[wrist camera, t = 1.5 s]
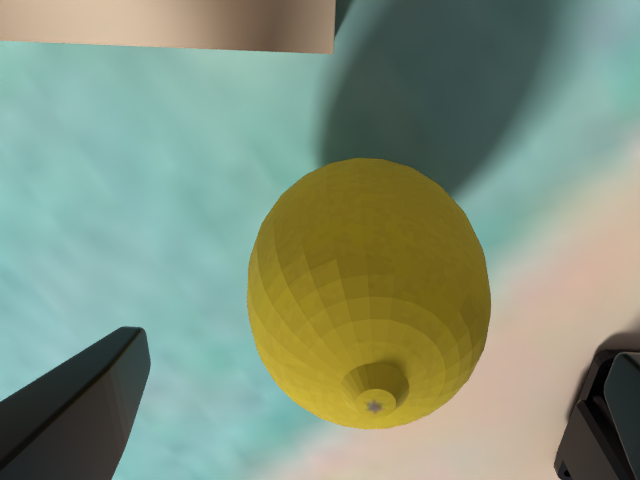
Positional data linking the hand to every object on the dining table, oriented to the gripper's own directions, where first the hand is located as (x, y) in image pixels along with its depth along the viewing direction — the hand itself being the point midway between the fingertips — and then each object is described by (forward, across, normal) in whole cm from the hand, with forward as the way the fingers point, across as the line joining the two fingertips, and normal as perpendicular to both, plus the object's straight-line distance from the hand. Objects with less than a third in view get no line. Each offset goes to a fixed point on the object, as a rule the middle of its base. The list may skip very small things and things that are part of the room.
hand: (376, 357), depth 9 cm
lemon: (+7, 0, 0) cm, 7 cm away
